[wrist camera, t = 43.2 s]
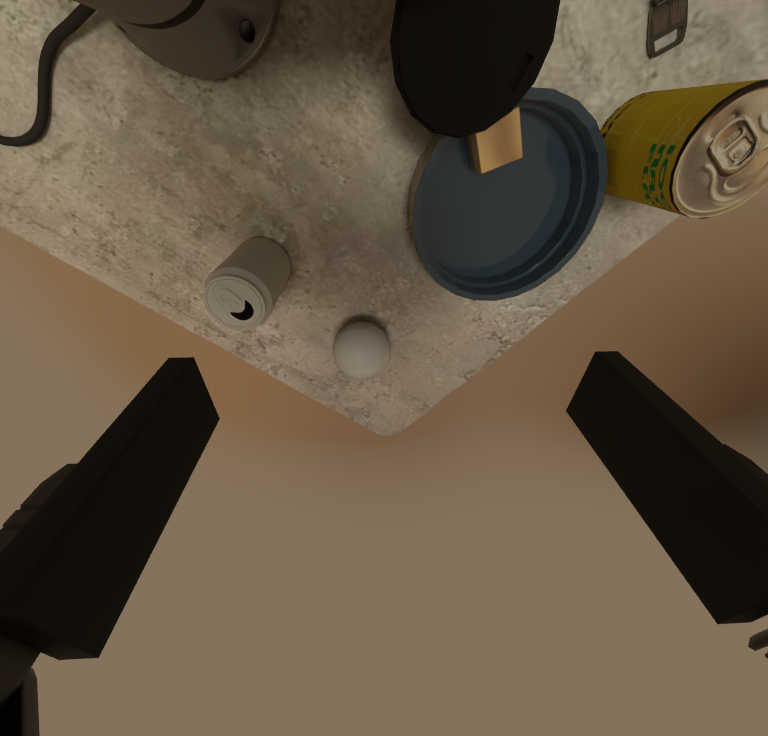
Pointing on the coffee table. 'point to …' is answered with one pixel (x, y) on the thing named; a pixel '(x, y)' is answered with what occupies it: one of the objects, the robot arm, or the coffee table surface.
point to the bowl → (510, 202)
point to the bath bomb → (361, 350)
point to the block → (496, 144)
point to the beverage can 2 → (690, 148)
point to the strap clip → (666, 23)
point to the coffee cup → (468, 58)
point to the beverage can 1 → (247, 284)
